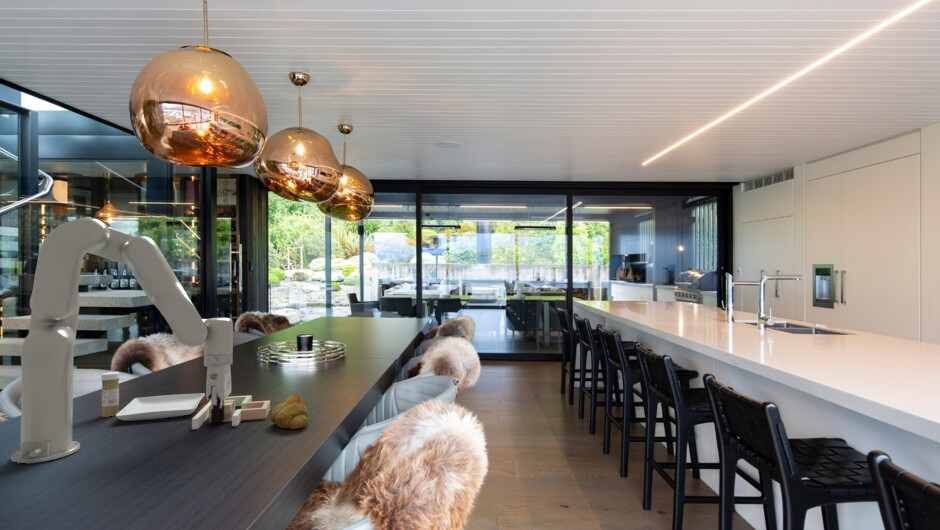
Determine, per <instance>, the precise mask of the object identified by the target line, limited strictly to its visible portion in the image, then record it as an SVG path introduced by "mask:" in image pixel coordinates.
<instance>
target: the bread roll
mask: <svg viewBox="0 0 940 530" xmlns="http://www.w3.org/2000/svg"><path fill="white" fill-rule="evenodd" d="M269 419H270V421H271V423H273V424H274V425H276V426H277V427H279V428H281V429H291V430H294V429H296V430H297V429H302V428H305V426H306V425H307V424H308V421H309V420H308V408H307V407H306V405H305V404H304V402H303V399H302V397H301V396H300V395H298V394H292V395H290V396H288V397H287V399H286V400H284V402H281V403H279V404H278V405H275V406H274V407H273V409H272V411H271V414H270V418H269Z"/></svg>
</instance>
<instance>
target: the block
mask: <svg viewBox="0 0 940 530" xmlns="http://www.w3.org/2000/svg"><path fill="white" fill-rule="evenodd" d="M235 411H236V406H235V400H225V401H224V420H223V422H222V423H226V422H227V423H228V422H232V416H233V414H234V413H235ZM208 423H209V424H211V405H210V406H209V417H208Z"/></svg>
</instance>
